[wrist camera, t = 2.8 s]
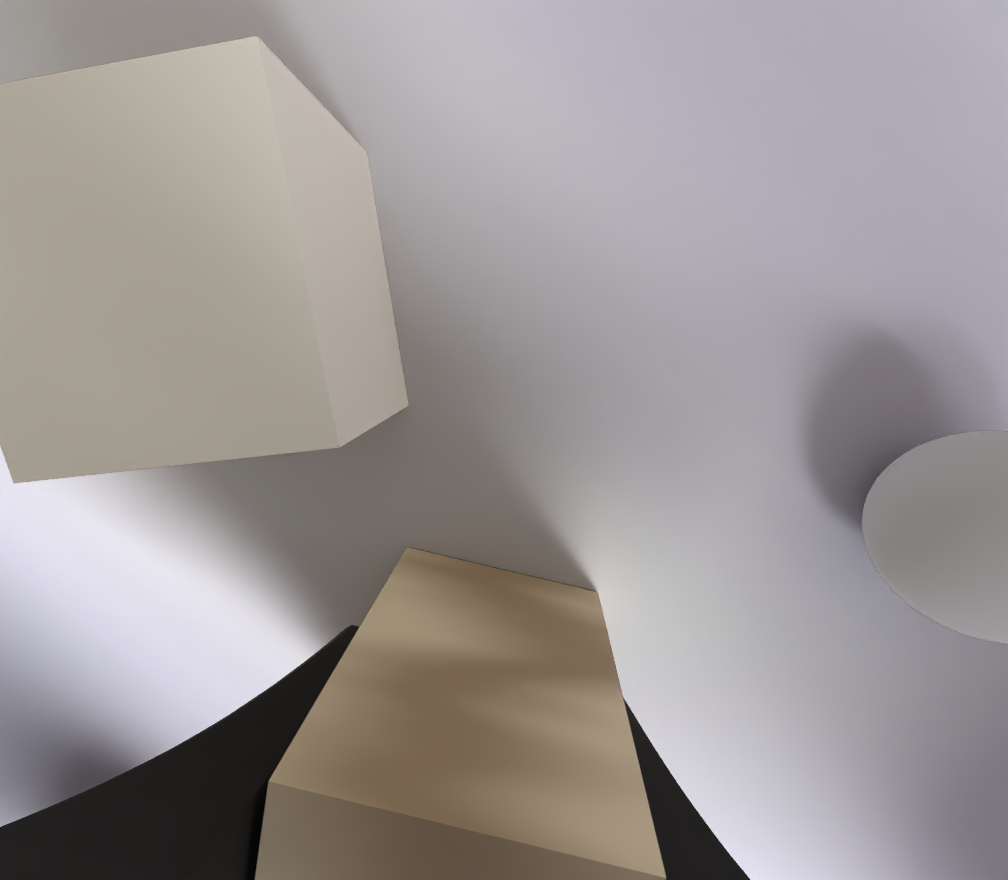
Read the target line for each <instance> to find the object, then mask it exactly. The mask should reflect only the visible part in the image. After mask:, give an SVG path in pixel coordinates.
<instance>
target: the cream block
mask: <svg viewBox="0 0 1008 880" xmlns="http://www.w3.org/2000/svg"><path fill="white" fill-rule="evenodd" d="M407 406H409V404H408V398H407V392H406V386H405V380H404V374H403V368H402V362H401V356H400V350H399V344H398V338H397V332H396V325H395V319H394V313H393V307H392V301H391V295H390V289H389V283H388V277H387V271H386V265H385V259H384V253H383V247H382V241H381V235H380V229H379V223H378V217H377V211H376V205H375V199H374V193H373V187H372V181H371V174H370V168H369V162H368V156H367V152H366V151H365V149H364V148H363V147H362V146H361V145H360V144H359V143H358V142H357V141H356V140H355V139H354V138H353V137H352V136H351V135H350V134H349V133H348V131H347V130H346V129H345V128H344V127H343V126H342V125H341V124H340V123H339V122H338V121H337V120H336V119H335V118H334V117H333V116H332V115H331V113H330V112H329V111H328V110H327V109H326V108H325V107H324V106H323V105H322V104H321V103H320V102H319V101H318V100H317V99H316V98H315V97H314V95H313V94H312V93H311V92H310V91H309V90H308V89H307V88H306V87H305V86H304V85H303V84H302V83H301V82H300V81H299V80H298V79H297V77H296V76H295V75H294V74H293V73H292V72H291V71H290V70H289V69H288V68H287V67H286V66H285V65H284V64H283V63H282V62H281V60H280V59H279V58H278V57H277V56H276V55H275V54H274V53H273V52H272V51H271V50H270V49H269V48H268V47H267V46H266V45H265V44H264V42H263V41H262V40H261V39H260V38H259V37H258V36H253V37H248V38H242V39H237V40H232V41H226V42H221V43H216V44H210V45H205V46H199V47H194V48H189V49H183V50H178V51H173V52H167V53H162V54H157V55H151V56H146V57H140V58H135V59H130V60H124V61H119V62H114V63H108V64H103V65H97V66H92V67H87V68H81V69H76V70H71V71H65V72H60V73H55V74H49V75H44V76H38V77H33V78H28V79H22V80H17V81H12V82H6V83H1V84H0V446H1V449H2V451H3V454H4V457H5V460H6V463H7V466H8V468H9V471H10V474H11V477H12V480H13V483H20V482H30V481H39V480H48V479H57V478H66V477H75V476H85V475H94V474H103V473H112V472H121V471H130V470H140V469H149V468H158V467H167V466H176V465H185V464H195V463H204V462H213V461H222V460H231V459H240V458H250V457H259V456H268V455H277V454H286V453H295V452H305V451H314V450H323V449H332V448H340V447H342V446H343V445H345V444H346V443H348V442H350V441H351V440H353V439H355V438H356V437H358V436H360V435H361V434H363V433H365V432H366V431H368V430H369V429H371V428H373V427H374V426H376V425H378V424H379V423H381V422H383V421H384V420H386V419H388V418H389V417H391V416H392V415H394V414H396V413H397V412H399V411H401V410H402V409H404V408H406V407H407Z"/></svg>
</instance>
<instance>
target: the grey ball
mask: <svg viewBox="0 0 1008 880" xmlns="http://www.w3.org/2000/svg"><path fill="white" fill-rule="evenodd" d="M862 533H863V538H864V542H865V546H866V550H867V553H868V555H869V558H870V560H871V562H872V564H873V565H874V567H875V569H876V570H877V572H878V574H879V575H880V577H881V578H882V579H883V580H884V582H885V583H886V584H887V585H888V586H889V587H890V589H891V590H892V591H893V592H894V593H895V594H896V595H897V596H899V597H900V598H901V599H902V600H903V601H904V602H906V603H907V604H908V605H909V606H910V607H912V608H913V609H915V610H916V611H918V612H919V613H921V614H923V615H924V616H926V617H927V618H929V619H931V620H932V621H934V622H936V623H938V624H941V625H943V626H945V627H947V628H949V629H952V630H954V631H956V632H959V633H962V634H965V635H968V636H972V637H975V638H978V639H982V640H987V641H992V642H998V643H1004V644H1008V431H973V432H964V433H958V434H953V435H948V436H944V437H941V438H938V439H935V440H931V441H928V442H925V443H923V444H921V445H919V446H917V447H914V448H913V449H911V450H909V451H908V452H906V453H904V454H903V455H901V456H900V457H898V458H897V459H896V460H894V461H893V462H892V463H891V464H890V465H888V466H887V467H886V468H885V469H884V470H883V471H882V473H881V474H880V475H879V476H878V477H877V479H876V480H875V482H874V483H873V485H872V487H871V489H870V491H869V493H868V495H867V498H866V501H865V504H864V509H863V514H862Z"/></svg>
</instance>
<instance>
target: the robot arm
mask: <svg viewBox="0 0 1008 880" xmlns="http://www.w3.org/2000/svg"><path fill="white" fill-rule="evenodd" d="M358 629H359V627H358V626H354V625H351V626H349V627H348V628H346V629H345V630H344V631H342V632H341V633H340V634H339V635H338V636H336V637H335V638H334V639H333V640H331V641H330V642H329V643H328V644H327V645H325V646H324V647H323V648H322V649H320V650H319V651H318V652H317V653H315V654H314V655H313V656H312V657H310V658H309V659H308V660H306V661H305V662H304V663H303V664H301V665H300V666H298V667H297V668H296V669H294V670H293V671H292V672H290V673H289V674H288V675H286V676H285V677H284V678H282V679H281V680H280V681H278V682H277V683H276V684H274V685H273V686H271V687H270V688H268V689H267V690H266V691H264V692H263V693H261V694H260V695H258V696H257V697H255V698H254V699H252V700H251V701H249V702H248V703H246V704H245V705H243V706H242V707H240V708H239V709H237V710H236V711H234V712H233V713H231V714H230V715H228V716H226V717H225V718H223V719H222V720H220V721H218V722H217V723H215V724H213V725H212V726H210V727H208V728H207V729H205V730H203V731H202V732H200V733H198V734H197V735H195V736H193V737H191V738H190V739H188V740H186V741H184V742H182V743H181V744H179V745H177V746H175V747H174V748H172V749H170V750H168V751H166V752H164V753H162V754H160V755H158V756H157V757H155V758H153V759H151V760H149V761H147V762H145V763H143V764H141V765H139V766H137V767H135V768H133V769H131V770H129V771H127V772H125V773H123V774H121V775H119V776H117V777H115V778H113V779H111V780H109V781H107V782H105V783H102V784H100V785H98V786H96V787H94V788H92V789H89V790H87V791H85V792H83V793H80V794H78V795H76V796H74V797H71V798H69V799H67V800H64V801H62V802H60V803H58V804H55V805H53V806H51V807H48V808H46V809H43V810H41V811H38V812H36V813H34V814H31V815H29V816H26V817H24V818H22V819H19V820H17V821H14V822H12V823H9V824H7V825H4V826H2V827H0V880H255V874H256V867H257V860H258V853H259V846H260V838H261V831H262V824H263V817H264V810H265V803H266V795H267V788H268V781H269V780H270V778H271V776H272V774H273V773H274V771H275V769H276V768H277V766H278V764H279V763H280V761H281V759H282V758H283V756H284V754H285V752H286V751H287V749H288V747H289V746H290V744H291V742H292V741H293V739H294V737H295V736H296V734H297V732H298V730H299V729H300V727H301V725H302V724H303V722H304V720H305V719H306V717H307V715H308V714H309V712H310V710H311V708H312V707H313V705H314V703H315V702H316V700H317V698H318V697H319V695H320V693H321V692H322V690H323V688H324V686H325V685H326V683H327V681H328V680H329V678H330V676H331V675H332V673H333V671H334V670H335V668H336V666H337V664H338V663H339V661H340V659H341V658H342V656H343V654H344V653H345V651H346V649H347V648H348V646H349V644H350V642H351V641H352V639H353V637H354V636H355V634H356V632H357V631H358ZM623 699H624V698H623ZM624 703H625V708H626V712H627V716H628V720H629V724H630V728H631V733H632V737H633V741H634V745H635V749H636V754H637V758H638V762H639V766H640V770H641V774H642V779H643V783H644V787H645V791H646V795H647V799H648V804H649V808H650V812H651V816H652V820H653V825H654V829H655V833H656V837H657V841H658V845H659V850H660V854H661V858H662V862H663V866H664V871H665V875H666V880H750V879H749V878H748V876H747V875H746V874H745V873H744V871H743V870H742V869H741V868H740V867H739V865H738V864H737V863H736V862H735V860H734V859H733V858H732V857H731V856H730V854H729V853H728V852H727V850H726V849H725V848H724V847H723V845H722V844H721V843H720V841H719V840H718V839H717V838H716V836H715V835H714V834H713V832H712V831H711V829H710V828H709V827H708V825H707V824H706V823H705V821H704V820H703V819H702V817H701V816H700V814H699V813H698V812H697V810H696V809H695V808H694V806H693V805H692V803H691V802H690V801H689V799H688V798H687V796H686V795H685V793H684V792H683V791H682V789H681V788H680V786H679V785H678V783H677V782H676V780H675V779H674V777H673V776H672V774H671V773H670V771H669V770H668V768H667V767H666V765H665V764H664V762H663V761H662V759H661V758H660V756H659V754H658V753H657V751H656V750H655V748H654V747H653V745H652V743H651V742H650V740H649V739H648V737H647V735H646V734H645V732H644V731H643V729H642V727H641V726H640V724H639V722H638V721H637V719H636V718H635V716H634V714H633V713H632V711H631V709H630V708H629V706H628V704H627V703H626V701H625V700H624Z"/></svg>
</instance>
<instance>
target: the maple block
mask: <svg viewBox="0 0 1008 880" xmlns="http://www.w3.org/2000/svg"><path fill="white" fill-rule="evenodd" d="M255 880H666V875H665V871H664V866H663V862H662V858H661V854H660V850H659V845H658V841H657V837H656V833H655V829H654V825H653V820H652V816H651V812H650V808H649V804H648V799H647V795H646V791H645V787H644V783H643V779H642V774H641V770H640V766H639V762H638V758H637V754H636V749H635V745H634V741H633V737H632V733H631V728H630V724H629V720H628V716H627V712H626V708H625V703H624V699H623V695H622V691H621V687H620V682H619V678H618V674H617V670H616V666H615V662H614V657H613V653H612V649H611V645H610V641H609V637H608V632H607V628H606V624H605V620H604V616H603V611H602V607H601V603H600V599H599V595H598V592H595V591H591V590H586V589H582V588H578V587H574V586H570V585H565V584H561V583H557V582H553V581H548V580H544V579H540V578H536V577H532V576H527V575H523V574H519V573H515V572H510V571H506V570H502V569H498V568H494V567H489V566H485V565H481V564H477V563H472V562H468V561H464V560H460V559H456V558H451V557H447V556H443V555H439V554H434V553H430V552H426V551H422V550H418V549H413V548H409V547H407V548H406V549H405V551H404V553H403V554H402V556H401V558H400V559H399V561H398V563H397V565H396V566H395V568H394V570H393V571H392V573H391V575H390V576H389V578H388V580H387V582H386V583H385V585H384V587H383V588H382V590H381V592H380V593H379V595H378V597H377V598H376V600H375V602H374V604H373V605H372V607H371V609H370V610H369V612H368V614H367V615H366V617H365V619H364V620H363V622H362V624H361V626H360V627H359V629H358V631H357V632H356V634H355V636H354V637H353V639H352V641H351V642H350V644H349V646H348V648H347V649H346V651H345V653H344V654H343V656H342V658H341V659H340V661H339V663H338V664H337V666H336V668H335V670H334V671H333V673H332V675H331V676H330V678H329V680H328V681H327V683H326V685H325V686H324V688H323V690H322V692H321V693H320V695H319V697H318V698H317V700H316V702H315V703H314V705H313V707H312V708H311V710H310V712H309V714H308V715H307V717H306V719H305V720H304V722H303V724H302V725H301V727H300V729H299V730H298V732H297V734H296V736H295V737H294V739H293V741H292V742H291V744H290V746H289V747H288V749H287V751H286V752H285V754H284V756H283V758H282V759H281V761H280V763H279V764H278V766H277V768H276V769H275V771H274V773H273V774H272V776H271V778H270V780H269V781H268V788H267V795H266V803H265V810H264V817H263V824H262V831H261V838H260V846H259V853H258V860H257V867H256V874H255Z"/></svg>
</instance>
